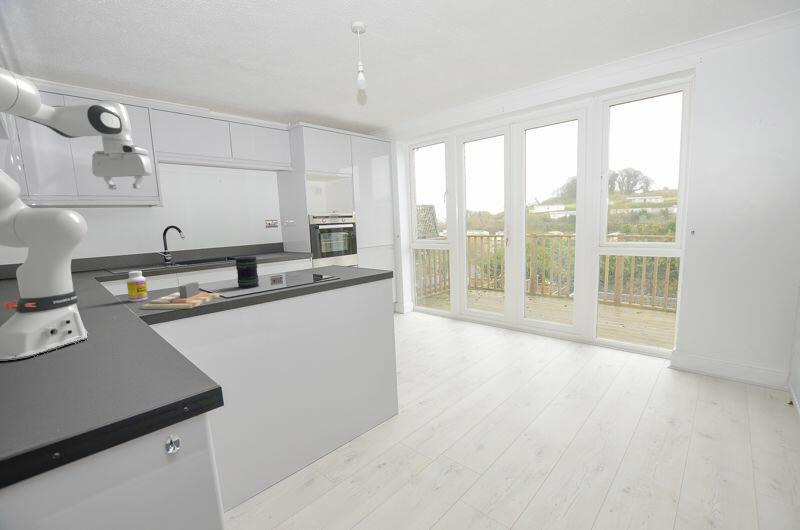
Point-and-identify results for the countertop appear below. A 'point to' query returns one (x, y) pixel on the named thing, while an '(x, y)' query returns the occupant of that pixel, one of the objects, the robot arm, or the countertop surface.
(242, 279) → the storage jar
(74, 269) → the countertop surface
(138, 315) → the countertop surface
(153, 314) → the countertop surface
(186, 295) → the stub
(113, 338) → the countertop surface
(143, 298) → the supplement bottle
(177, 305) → the ticket board
